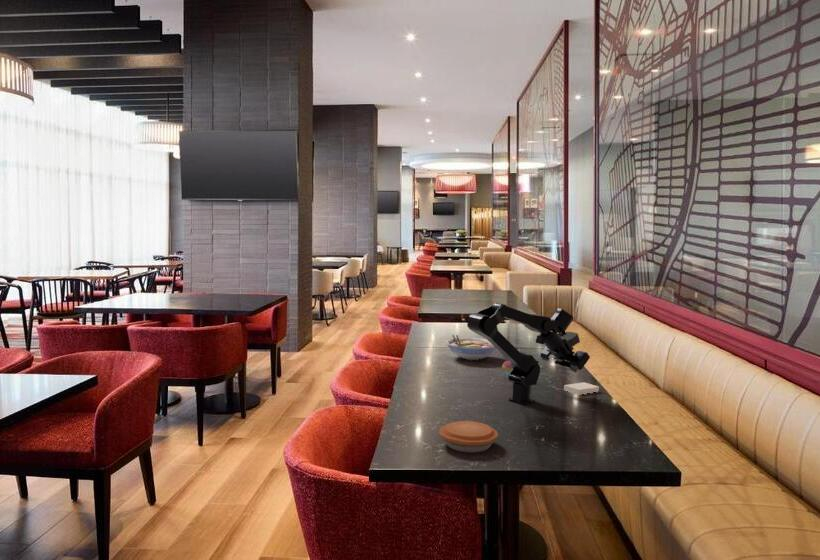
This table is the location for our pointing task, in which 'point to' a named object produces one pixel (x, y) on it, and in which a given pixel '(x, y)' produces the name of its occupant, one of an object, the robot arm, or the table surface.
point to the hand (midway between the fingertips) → (575, 371)
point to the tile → (581, 388)
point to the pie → (468, 436)
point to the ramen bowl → (470, 347)
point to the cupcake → (507, 366)
